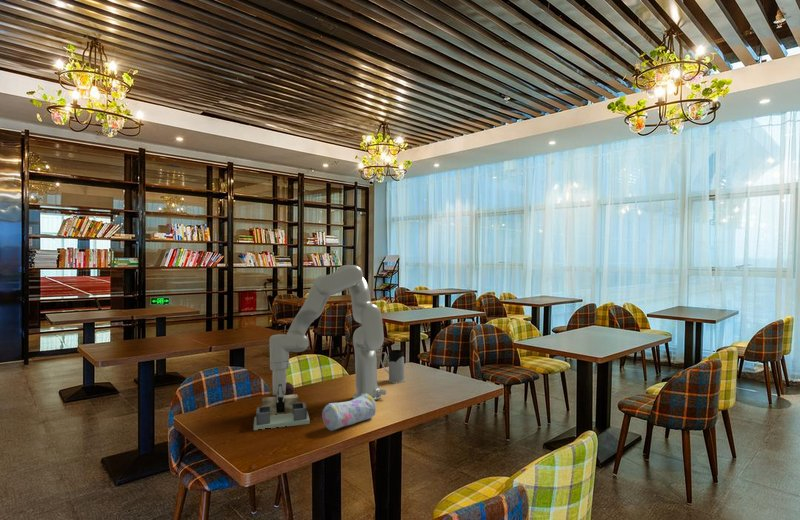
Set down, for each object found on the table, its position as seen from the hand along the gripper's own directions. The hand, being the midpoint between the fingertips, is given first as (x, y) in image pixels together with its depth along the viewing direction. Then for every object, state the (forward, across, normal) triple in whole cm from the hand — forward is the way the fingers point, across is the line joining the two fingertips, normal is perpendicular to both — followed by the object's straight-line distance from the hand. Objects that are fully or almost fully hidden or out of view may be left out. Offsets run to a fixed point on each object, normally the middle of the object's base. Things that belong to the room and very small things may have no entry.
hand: (280, 409), depth 188 cm
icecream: (+1, -22, +3) cm, 22 cm away
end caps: (0, +13, 0) cm, 13 cm away
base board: (+1, +13, 0) cm, 13 cm away
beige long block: (+1, 0, 0) cm, 1 cm away
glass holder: (+1, -33, +56) cm, 65 cm away
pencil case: (+1, +24, +25) cm, 34 cm away
